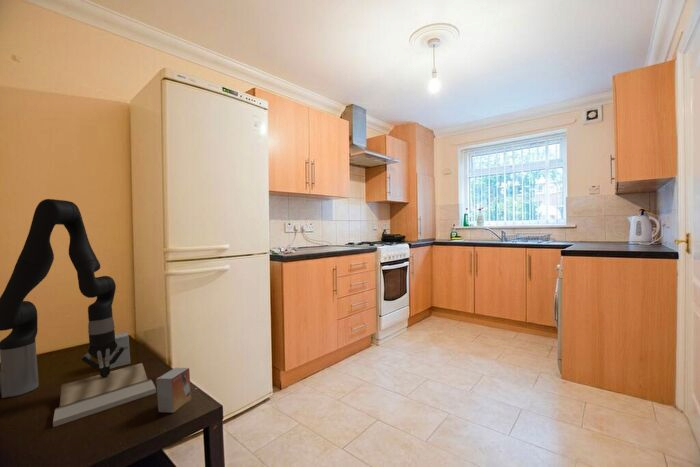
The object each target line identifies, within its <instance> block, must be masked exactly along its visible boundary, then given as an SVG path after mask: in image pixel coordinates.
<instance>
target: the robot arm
mask: <svg viewBox="0 0 700 467" xmlns="http://www.w3.org/2000/svg"><path fill="white" fill-rule="evenodd" d="M56 225H63V227H64V228H65V229H66V230H67V233H68V236H69V245H68V256H69V259H70V261H71V263H72V266H74V269H75V271H76V272H77V273H76V276H77V281H78V283H77V284H78V289H79V291H80V293H81V294H82V296H84V297H86V298H88V299H89V298H90V299H95V298H96V299H95V301H94V302H92V303H91V304H89V305H88V307H87V316H88V318H87V320H88V326H87V328H88V329H87V330H88V331H87V333H88V342H89V343H88V346H89V347H88V350H87V353H86V354H85V355H82V356H81V361H82V362H84V363H85V364H87V365H88V366H90V367H92V369H99V375H100V376H101V377H102V376H103V378H104V377H108V375H109V374H110V372H111V371H110V370H111V369H110V365H111V364H113V363H115V362H116V360H117V359H118V357H119V356H120V355H121V353H122V352H123V351H124V348H123V347H120V346H117V343H116V342H115V335H116V332H115V331H116V330H115V322H114V316H113V303H114V299H115V295H116V287H117V286H116V282H115V279H114V278H113V277H111V276H109V275H102V276H98V277H96V276H95V273H96V272H98V271H99V270H100V269H101V263H100V261H99V259H98V257H97V256H96V254H95V252H94V250H93V248H92V246H91V242H90V240H89V237H88V234H87V230H86V227H85V224H84V220H83V216H82V214H81V211H80V208H79V207H78V206H77V204H76V203H75V202H73V201H69V200H63V199H54V198H46V199H43V200H40V202H38V204H37V205H36V208H35V210H34V213H33V217H32V220H31V224H30V228H29V231H28V234H27V237H26V240H25V242H24V245H23V247H22V250H21V252H20V254H19V256H18V258H17V260H16V262H15V265H14V268H13V271H12V273H11V275H10V278H9V280H8V282H7V283H6V286H5V288H4V290H3V292H2V294H1V296H0V332H1V331H2V332H3V331H9V330H11V332H10V333H9V334H8V335H6V336H5V337H4V338H3V339H2V340H0V390H1V391H0V392H1V399H4V398H5V399H6V398H11V397H16V396H21V395H24V394H27V393H30V392H31V391H34V390H36V389H37V388H38V387H39V386H40V385H39V369H38V358H37V345H36V344H37V343H36V342H37V341H36V337H37V335H38V330H39V329H38V310H37V308H36V305H35V304H34V303H33V302H32V301H29V300H25V298H27V296H28V295H29V294H30V292H32V291H33V290H34V288H36V287H37V286H38V285H39V284H41V282H43V281H44V280H45V278H46V277H47V276H48V274H49V272H50V270H51V268H52V265H53V262H54V260H55V254H54V250H53V247H52V243H51V235H52V232H53V230H54V228H55V227H56ZM115 349H116V354H115V355H114V356H113V358H112V359H111V360H110V356H111V355H112V353H113V352H114V350H115ZM91 356H92V357H93V358H94V359H96V360H97V361H98V362H96V361H94V360H93V359H91V358H92V357H91ZM109 360H110V361H109Z"/></svg>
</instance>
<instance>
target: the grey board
mask: <svg viewBox="0 0 700 467" xmlns="http://www.w3.org/2000/svg"><path fill="white" fill-rule="evenodd" d="M153 394H157V387H156V385H155V384H154V382H153V380H152V379H148V380H147V381H143V382H140V383H137V384H134V385H130V386H127V387H124V388H121V389H117V390H114V391H111V392H108V393H104V394H101V395H98V396H94V397H91V398H88V399H85V400H81V401H78V402H75V403H72V404H68V405H65V406H62V407H60V406H59V407H56V408H55V409H54V414H53V420H52V425H53V426H52V428H54V427H55V428H56V427H58V426H60V425H64V424H67V423H70V422H73V421H76V420H79V419H82V418H84V417H87V416H91V415H94V414H97V413H101V412H103V411H105V410H108V409H112V408H115V407H117V406H121V405H124V404H126V403H129V402H132V401H135V400H139V399H141V398H144V397H147V396H150V395H153Z"/></svg>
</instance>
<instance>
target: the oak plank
mask: <svg viewBox="0 0 700 467" xmlns="http://www.w3.org/2000/svg"><path fill="white" fill-rule="evenodd" d="M147 380H149V379H148V377H147V374H146V370H145V367H144V364H143V363H142V362H141V363H138V364H133V365H129V366H126V367H122V368H119V369H115V370H111V371H110V374H109V375H108V377H104V378H103V376H102V377H101V376H100V374H97V375H94V376H93V375H92V376H90V377H86V378H83V379H79V380H75V381H70V382H68V383H63V384H61V387H60V397H59V398H60V399H59V407H62V406H65V405H68V404H72V403H75V402H78V401H81V400H85V399H88V398H91V397H94V396H98V395H101V394H104V393H108V392H111V391H114V390H117V389H121V388H124V387H127V386H130V385H134V384H137V383H140V382H143V381H147Z"/></svg>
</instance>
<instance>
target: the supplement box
mask: <svg viewBox="0 0 700 467" xmlns="http://www.w3.org/2000/svg"><path fill="white" fill-rule="evenodd" d="M129 337H130V336H129V332H122V333H118V334H115V342H116V343H117V346H120V347H123V348H124V351H123V352H122V353H121V355H120V356H119V357H118V359H117V360H116V362H115V363H113V364H111V365H110V366H109V367H110V370H111V369H114V368H115V369H116V368H118V367H121V366H126V365H130V364H131V354H130V352H131V351H130V338H129ZM115 354H116V349H115V350H114V352H113V353H112V355H111V356H110V360H111V359H112V358H113V356H114V355H115ZM110 360H109V361H110Z"/></svg>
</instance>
